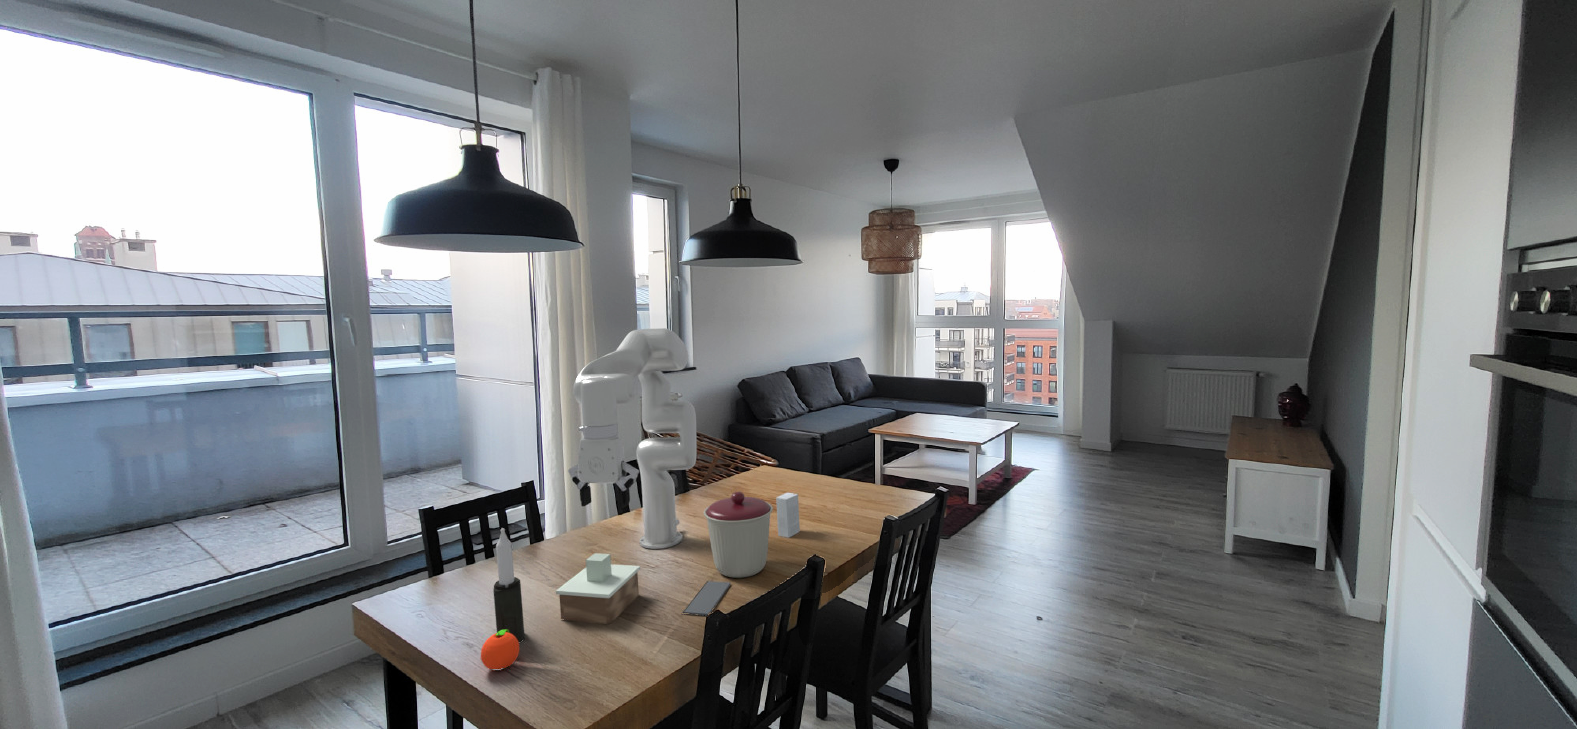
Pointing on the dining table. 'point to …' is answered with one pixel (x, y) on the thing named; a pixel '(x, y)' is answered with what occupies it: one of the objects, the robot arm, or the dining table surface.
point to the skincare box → (788, 514)
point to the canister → (739, 534)
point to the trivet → (707, 598)
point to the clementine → (500, 650)
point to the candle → (507, 592)
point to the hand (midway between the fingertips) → (605, 505)
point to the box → (599, 604)
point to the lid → (598, 578)
